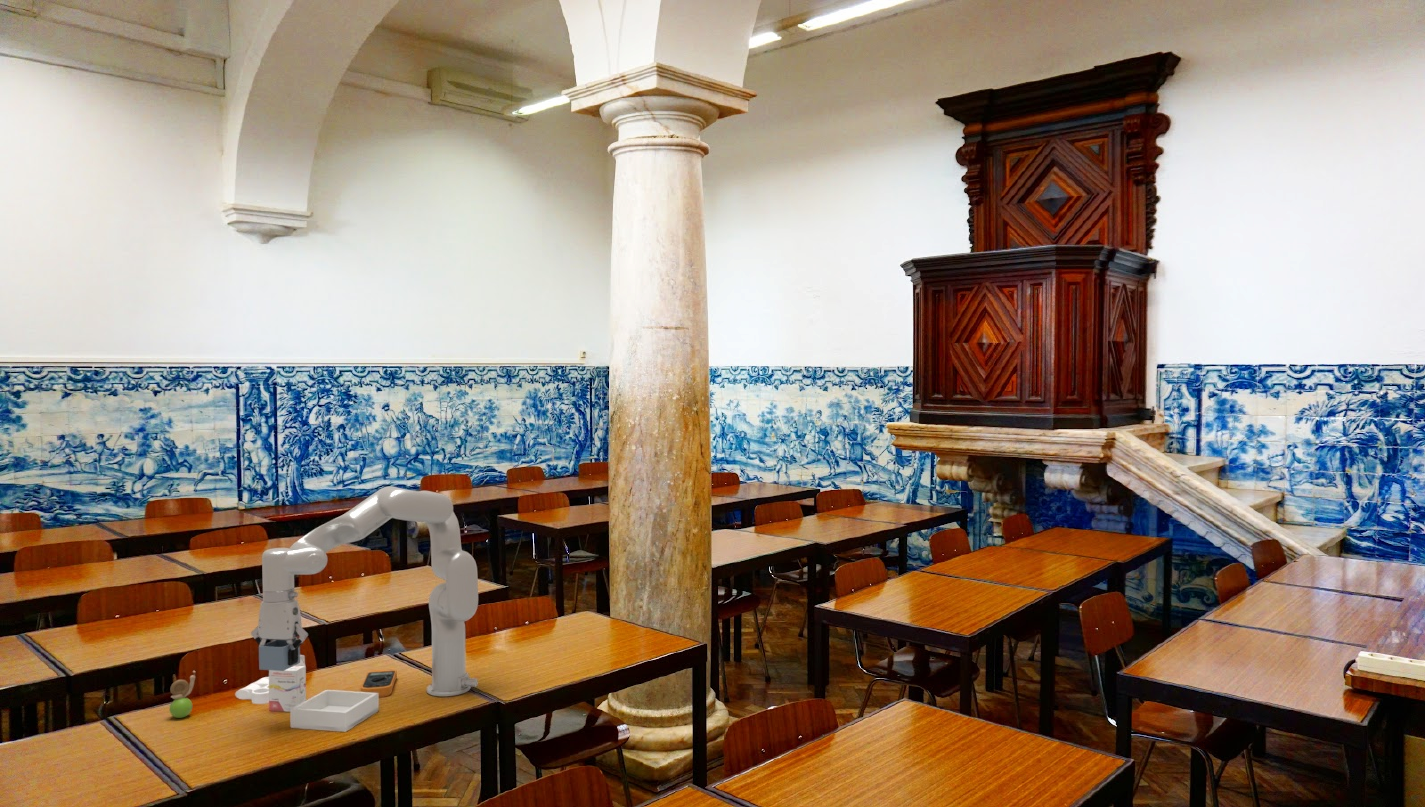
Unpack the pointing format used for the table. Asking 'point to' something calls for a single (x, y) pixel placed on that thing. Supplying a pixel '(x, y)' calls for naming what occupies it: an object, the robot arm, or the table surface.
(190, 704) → the snail figurine
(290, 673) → the ink cartridge box
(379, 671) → the multimeter
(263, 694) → the white brass knuckles
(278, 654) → the small crate
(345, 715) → the big crate
